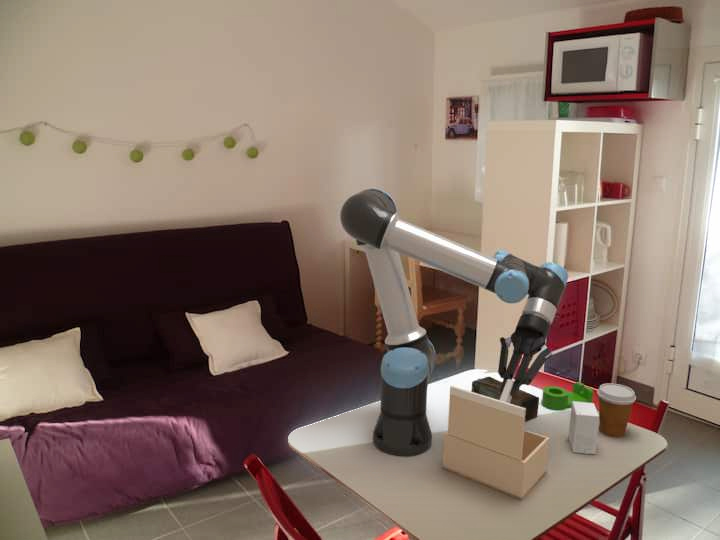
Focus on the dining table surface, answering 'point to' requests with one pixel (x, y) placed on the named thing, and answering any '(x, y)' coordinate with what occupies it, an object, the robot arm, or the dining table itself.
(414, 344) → the robot arm
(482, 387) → the dark brown wooden block
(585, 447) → the small box
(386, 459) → the dining table surface
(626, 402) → the disposable coffee cup
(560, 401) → the tape dispenser
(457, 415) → the light wood flat panel
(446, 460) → the light wood open box
